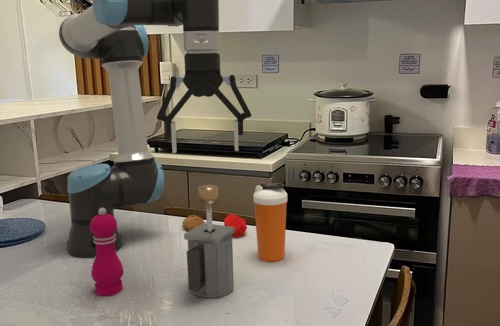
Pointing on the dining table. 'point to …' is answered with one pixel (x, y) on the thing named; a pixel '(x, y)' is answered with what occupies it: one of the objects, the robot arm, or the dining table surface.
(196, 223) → the pastry
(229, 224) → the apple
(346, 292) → the dining table surface
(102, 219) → the pepper mill
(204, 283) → the faceted grey canister
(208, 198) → the plunger
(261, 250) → the shaker bottle
